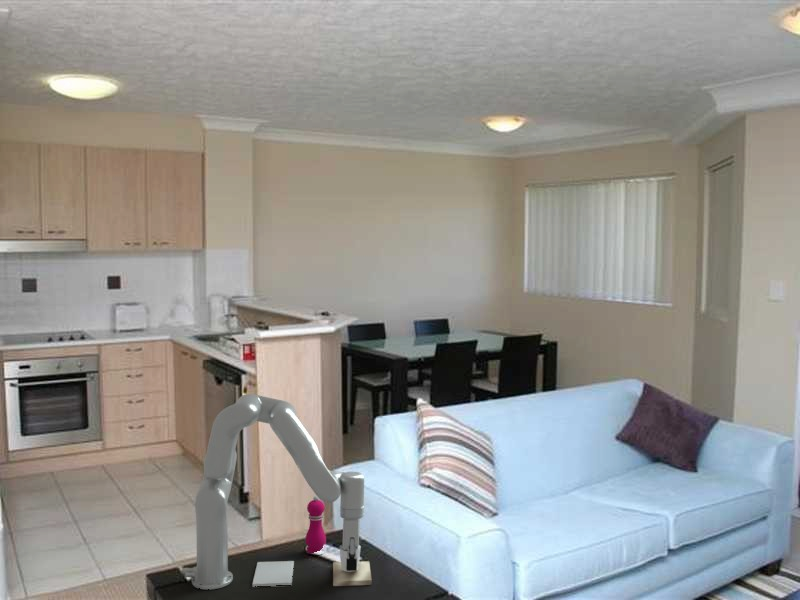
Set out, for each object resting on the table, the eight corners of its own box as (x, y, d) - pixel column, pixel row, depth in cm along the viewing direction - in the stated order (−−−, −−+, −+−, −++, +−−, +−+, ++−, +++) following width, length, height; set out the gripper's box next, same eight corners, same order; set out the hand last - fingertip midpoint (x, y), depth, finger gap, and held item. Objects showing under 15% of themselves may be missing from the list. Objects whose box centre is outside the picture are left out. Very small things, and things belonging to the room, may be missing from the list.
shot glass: (357, 573, 229) (357, 551, 229) (336, 571, 231) (336, 549, 230) (362, 564, 236) (363, 543, 236) (342, 562, 238) (342, 541, 237)
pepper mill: (330, 551, 253) (330, 495, 251) (317, 558, 246) (317, 500, 245) (314, 546, 256) (314, 491, 255) (300, 553, 250) (301, 496, 249)
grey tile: (252, 587, 225) (252, 583, 225) (257, 564, 241) (257, 562, 241) (291, 585, 226) (291, 582, 226) (294, 563, 242) (294, 561, 242)
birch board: (333, 586, 226) (333, 581, 226) (333, 566, 240) (333, 562, 240) (371, 584, 227) (371, 580, 227) (369, 565, 241) (369, 561, 241)
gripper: (339, 502, 240) (339, 555, 242) (340, 521, 223) (339, 578, 225) (362, 502, 241) (361, 555, 242) (364, 520, 224) (364, 577, 225)
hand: (351, 565), depth 233 cm, fingers closed on shot glass, 5 cm apart
